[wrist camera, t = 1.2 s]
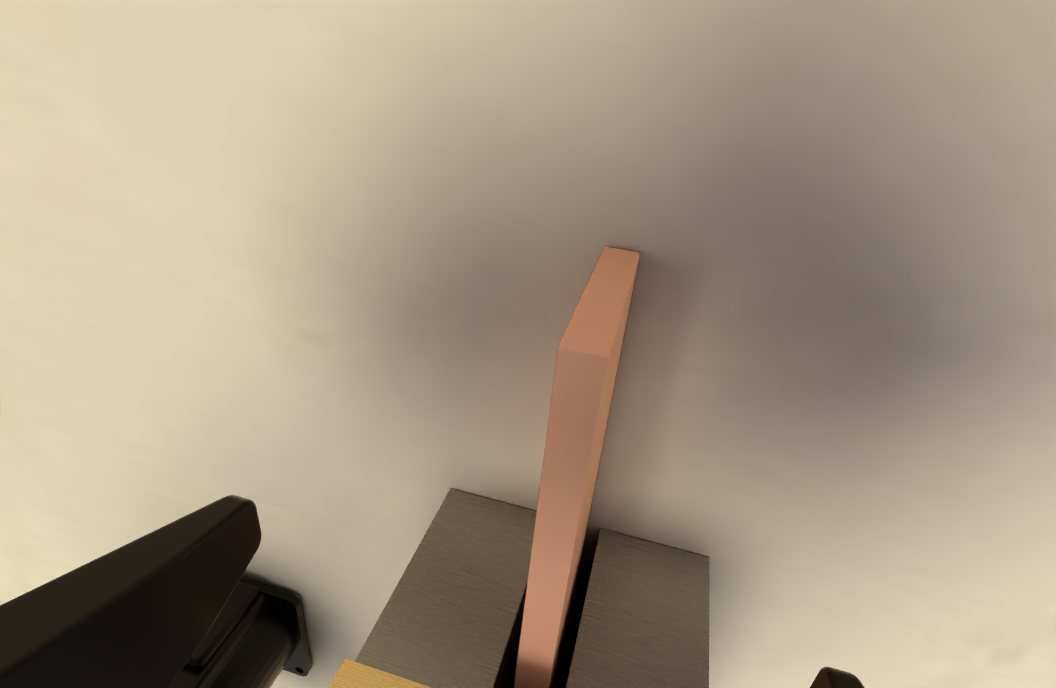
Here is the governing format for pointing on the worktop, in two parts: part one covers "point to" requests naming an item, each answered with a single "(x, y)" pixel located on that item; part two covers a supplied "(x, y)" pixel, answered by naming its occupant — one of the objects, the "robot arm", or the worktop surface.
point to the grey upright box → (498, 605)
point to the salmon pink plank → (572, 461)
